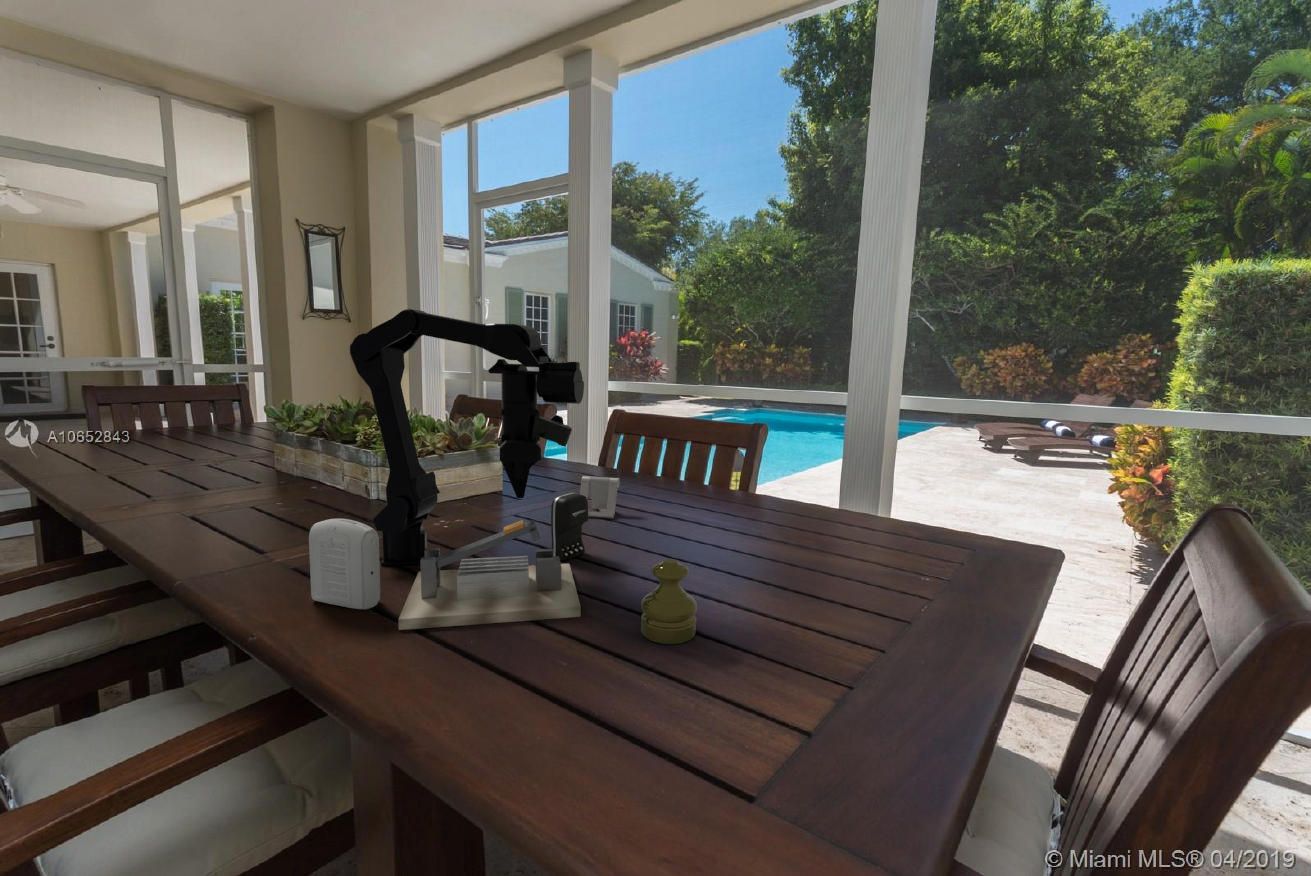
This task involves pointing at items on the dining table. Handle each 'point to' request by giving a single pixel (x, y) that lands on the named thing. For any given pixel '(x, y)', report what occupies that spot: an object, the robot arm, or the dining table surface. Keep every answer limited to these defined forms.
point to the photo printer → (344, 563)
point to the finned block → (493, 578)
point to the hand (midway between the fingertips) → (520, 494)
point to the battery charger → (568, 525)
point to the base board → (488, 604)
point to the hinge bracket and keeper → (545, 572)
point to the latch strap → (490, 542)
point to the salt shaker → (669, 606)
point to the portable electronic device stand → (601, 494)
